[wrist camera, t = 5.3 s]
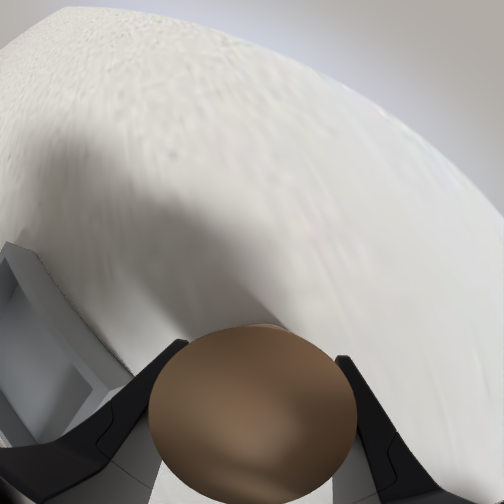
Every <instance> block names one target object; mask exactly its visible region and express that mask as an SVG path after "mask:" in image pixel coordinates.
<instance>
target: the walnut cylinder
mask: <svg viewBox="0 0 504 504" xmlns="http://www.w3.org/2000/svg"><path fill="white" fill-rule="evenodd" d="M148 419H149V426H150V432H151V435H152V439H153V442H154V444H155V447H156V449H157V451H158V453H159V455H160V456H161V458H162V460H163V461H164V463H165V464H166V465H167V467H168V468H169V469H170V470H171V471H172V472H173V473H174V474H175V475H176V476H177V477H178V478H179V479H180V480H181V481H182V482H183V483H185V484H186V485H187V486H189V487H190V488H192V489H193V490H195V491H196V492H198V493H200V494H202V495H204V496H206V497H208V498H211V499H213V500H216V501H219V502H222V503H226V504H283V503H287V502H290V501H293V500H296V499H299V498H301V497H303V496H305V495H307V494H309V493H311V492H312V491H314V490H316V489H317V488H319V487H320V486H322V485H323V484H324V483H325V482H326V481H328V480H329V479H330V478H331V477H332V476H333V475H334V474H335V473H336V472H337V470H338V469H339V468H340V467H341V465H342V464H343V462H344V461H345V459H346V457H347V456H348V454H349V452H350V450H351V447H352V444H353V441H354V438H355V434H356V428H357V408H356V401H355V398H354V394H353V391H352V389H351V386H350V384H349V382H348V380H347V378H346V377H345V375H344V374H343V372H342V370H341V369H340V368H339V367H338V365H337V364H336V363H335V362H334V361H333V360H332V359H331V358H330V357H329V356H328V355H327V354H326V353H324V352H323V351H322V350H321V349H319V348H318V347H316V346H315V345H313V344H312V343H310V342H308V341H307V340H305V339H303V338H301V337H299V336H297V335H295V334H294V333H292V332H290V331H288V330H286V329H284V328H282V327H280V326H277V325H274V324H268V323H258V324H252V325H247V326H241V327H236V328H230V329H224V330H221V331H217V332H214V333H210V334H208V335H206V336H203V337H201V338H199V339H197V340H195V341H193V342H192V343H190V344H188V345H186V346H185V347H184V348H183V349H181V350H180V351H179V352H177V353H176V354H175V355H174V356H173V357H172V358H171V359H170V360H169V361H168V363H167V364H166V365H165V366H164V368H163V369H162V371H161V372H160V374H159V376H158V378H157V380H156V382H155V384H154V386H153V389H152V392H151V396H150V402H149V416H148Z"/></svg>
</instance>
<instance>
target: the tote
mask: <svg viewBox="0 0 504 504" xmlns="http://www.w3.org/2000/svg"><path fill="white" fill-rule="evenodd" d="M133 378H134V377H133V376H132V375H131V374H130V373H129V372H128V371H127V369H126V368H125V367H124V366H123V365H122V364H121V363H120V362H119V361H118V360H117V359H116V358H115V357H114V356H113V355H112V354H111V353H110V351H109V350H108V349H107V348H106V347H105V346H104V345H103V344H102V343H101V341H100V340H99V339H98V338H97V337H96V336H95V334H94V333H93V332H92V331H91V330H90V328H89V327H88V326H87V325H86V324H85V322H84V321H83V320H82V319H81V317H80V316H79V315H78V314H77V312H76V311H75V310H74V308H73V307H72V306H71V305H70V303H69V302H68V301H67V299H66V298H65V296H64V295H63V294H62V292H61V291H60V290H59V288H58V287H57V285H56V284H55V282H54V281H53V280H52V278H51V277H50V275H49V274H48V272H47V271H46V269H45V268H44V266H43V265H42V263H41V261H40V260H39V258H38V257H37V255H36V253H35V252H33V251H30V250H27V249H25V248H22V247H19V246H17V245H14V244H12V243H9V242H7V241H6V243H5V245H4V247H3V248H2V250H1V252H0V436H1V438H2V439H3V441H4V442H5V444H6V445H7V447H8V448H9V447H20V446H30V445H38V444H45V443H49V442H51V441H54V440H56V439H58V438H59V437H61V436H63V435H64V434H65V433H67V432H68V431H70V430H71V429H73V428H74V427H76V426H77V425H79V424H80V423H82V422H83V421H84V420H86V419H87V418H88V417H90V416H91V415H92V414H94V413H95V412H96V411H97V410H98V409H100V408H101V407H102V406H103V405H104V404H105V403H106V402H108V401H109V400H111V398H112V397H113V396H114V395H115V394H117V393H118V392H119V391H120V390H121V389H122V388H123V387H124V386H125V385H127V384H128V383H129V382H130V381H131V380H132V379H133Z"/></svg>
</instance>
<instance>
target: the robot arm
mask: <svg viewBox="0 0 504 504" xmlns="http://www.w3.org/2000/svg"><path fill="white" fill-rule="evenodd" d="M188 344H189V342H188V341H187V340H183V339H176V340H175V341H174V342H172V343H171V344H170V345H169V346H168V347H167V348H166V349H165V350H164V351H163V352H162V353H161V354H159V355H158V356H157V357H156V358H155V359H154V360H153V361H152V362H151V363H150V364H148V365H147V366H146V367H145V368H144V369H143V370H142V371H141V372H140V373H139V374H138V375H136V376H135V377H134V378H133V379H132V380H131V381H130V382H129V383H128V384H127V385H125V386H124V387H123V388H122V389H121V390H120V391H119V392H118V393H117V394H115V395H114V396H113V397H112V398H111V400H109V401H108V402H106V403H105V404H104V405H103V406H102V407H101V408H100V409H98V410H97V411H96V412H95V413H94V414H92V415H91V416H90V417H88V418H87V419H86V420H84V421H83V422H82V423H80V424H79V425H77V426H76V427H74V428H73V429H71V430H70V431H68V432H67V433H65V434H64V435H63V436H61V437H59V438H58V439H56V440H54V441H51V442H49V443H45V444H38V445H30V446H20V447H9V448H1V447H0V504H148V502H149V499H150V496H151V493H152V489H153V486H154V483H155V480H156V477H157V474H158V471H159V468H160V465H161V462H162V458H161V456H160V455H159V453H158V451H157V449H156V447H155V444H154V442H153V439H152V435H151V432H150V426H149V419H148V416H149V402H150V396H151V392H152V389H153V386H154V384H155V382H156V380H157V378H158V376H159V374H160V372H161V371H162V369H163V368H164V366H165V365H166V364H167V363H168V361H169V360H170V359H171V358H172V357H173V356H174V355H175V354H176V353H177V352H179V351H180V350H181V349H183V348H184V347H185V346H186V345H188ZM335 363H336V364H337V365H338V367H339V368H340V369H341V370H342V372H343V374H344V375H345V377H346V378H347V380H348V382H349V384H350V386H351V389H352V391H353V394H354V398H355V401H356V408H357V428H356V434H355V438H354V441H353V444H352V447H351V450H350V452H349V454H348V456H347V457H346V459H345V461H344V462H343V464H342V465H341V467H340V468H339V469H338V470H337V472H336V473H335V474H334V475H333V476H332V481H333V504H477V503H474V502H472V501H469V500H467V499H464V498H462V497H459V496H457V495H455V494H452V493H450V492H448V491H446V490H444V489H443V488H441V487H440V486H439V485H438V484H437V483H436V482H435V481H434V480H433V479H432V477H431V476H430V475H429V474H428V472H427V471H426V470H425V469H424V468H423V466H422V465H421V464H420V463H419V461H418V460H417V459H416V458H415V456H414V455H413V454H412V452H411V451H410V450H409V448H408V447H407V445H406V444H405V442H404V441H403V439H402V438H401V436H400V434H399V433H398V432H396V431H397V430H396V428H395V426H394V425H393V423H392V422H391V420H390V419H389V417H388V415H387V414H386V412H385V411H384V409H383V408H382V406H381V404H380V403H379V401H378V400H377V398H376V397H375V395H374V393H373V392H372V390H371V389H370V387H369V386H368V384H367V383H366V381H365V380H364V378H363V376H362V375H361V373H360V372H359V370H358V369H357V367H356V366H355V364H354V363H353V361H352V360H351V358H350V357H349V356H347V355H338V356H337V357H336V359H335ZM496 504H504V500H503V501H500V502H498V503H496Z"/></svg>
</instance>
